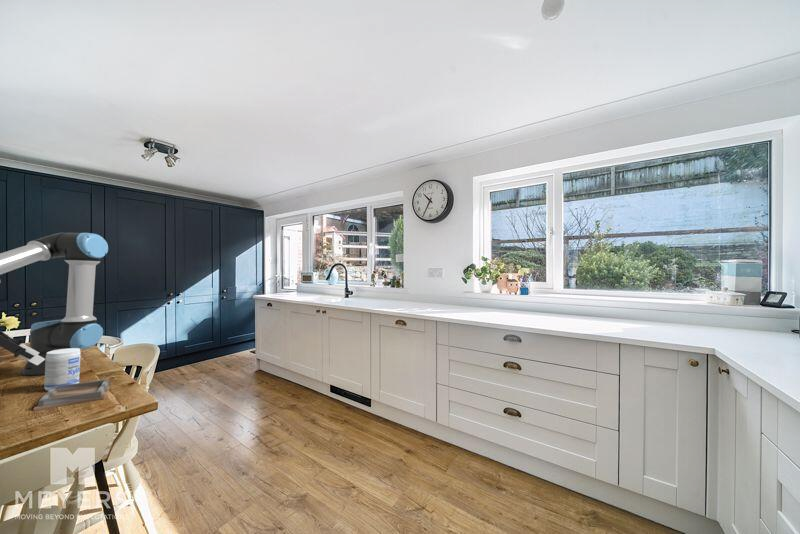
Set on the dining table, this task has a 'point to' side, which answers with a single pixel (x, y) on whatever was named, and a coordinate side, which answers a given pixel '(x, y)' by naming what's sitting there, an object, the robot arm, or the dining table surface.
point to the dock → (74, 394)
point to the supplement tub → (62, 367)
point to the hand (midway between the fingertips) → (38, 358)
